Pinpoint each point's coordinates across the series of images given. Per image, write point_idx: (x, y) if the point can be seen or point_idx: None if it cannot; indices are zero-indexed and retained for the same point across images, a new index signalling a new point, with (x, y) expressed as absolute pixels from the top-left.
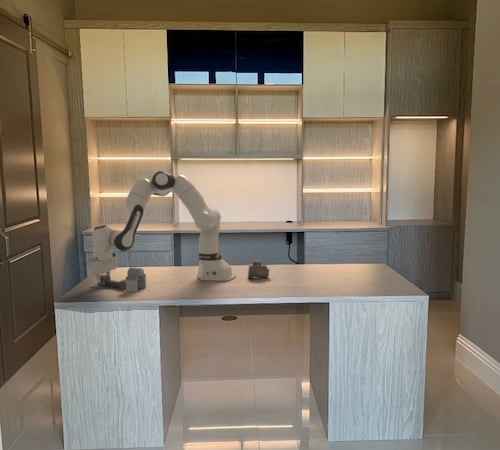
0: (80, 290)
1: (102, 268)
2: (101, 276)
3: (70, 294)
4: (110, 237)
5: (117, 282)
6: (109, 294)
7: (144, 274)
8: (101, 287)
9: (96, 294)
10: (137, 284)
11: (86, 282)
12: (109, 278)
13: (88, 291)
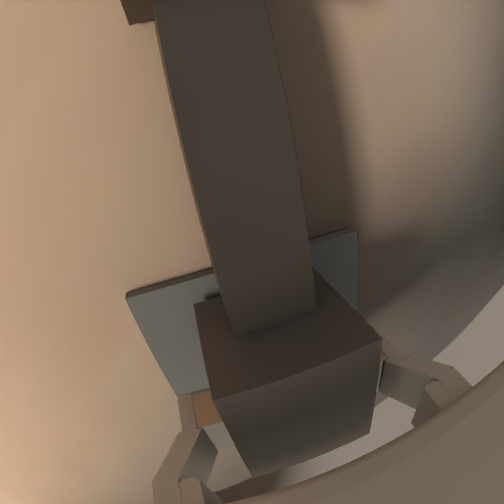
0: (433, 331)
1: (479, 496)
2: (337, 426)
3: (496, 287)
4: None
5: (249, 68)
6: (450, 4)
7: None
8: (350, 266)
9: (487, 121)
10: None
11: None
12: (233, 358)
13: (449, 261)
